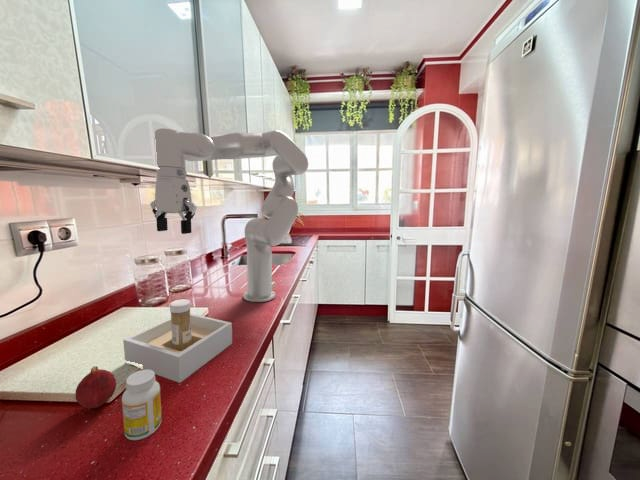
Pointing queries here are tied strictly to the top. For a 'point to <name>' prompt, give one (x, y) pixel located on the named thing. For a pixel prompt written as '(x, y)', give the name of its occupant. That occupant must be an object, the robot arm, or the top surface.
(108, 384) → the onion
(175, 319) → the sprinkles bottle
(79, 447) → the top surface
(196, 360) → the open box
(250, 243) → the robot arm
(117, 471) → the top surface
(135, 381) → the supplement bottle
